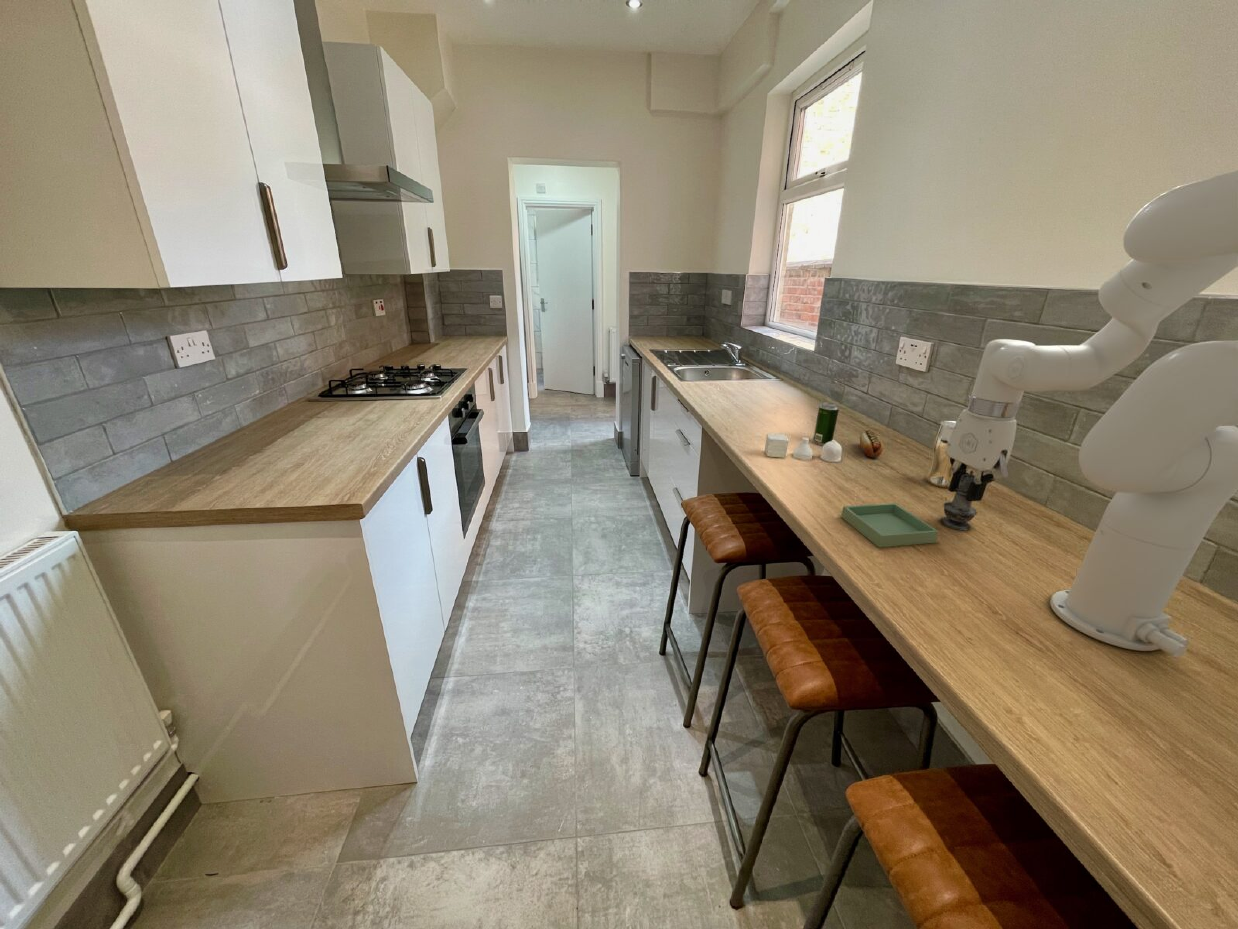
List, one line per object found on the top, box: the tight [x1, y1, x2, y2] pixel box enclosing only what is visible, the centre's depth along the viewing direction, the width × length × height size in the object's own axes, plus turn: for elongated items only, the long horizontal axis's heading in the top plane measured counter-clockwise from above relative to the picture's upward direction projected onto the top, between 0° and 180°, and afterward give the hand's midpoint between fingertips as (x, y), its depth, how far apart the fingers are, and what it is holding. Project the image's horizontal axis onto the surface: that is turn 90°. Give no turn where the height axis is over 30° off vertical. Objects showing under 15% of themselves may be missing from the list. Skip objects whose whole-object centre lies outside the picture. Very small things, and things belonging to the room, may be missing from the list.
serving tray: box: [840, 502, 940, 548], centre depth 98 cm, size 12×12×2 cm
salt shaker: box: [940, 470, 978, 531], centre depth 99 cm, size 6×6×12 cm
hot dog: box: [859, 430, 884, 458], centre depth 139 cm, size 5×13×5 cm, turn 163°
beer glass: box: [925, 420, 957, 489], centre depth 118 cm, size 7×7×15 cm
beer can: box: [812, 401, 840, 447], centre depth 144 cm, size 5×5×12 cm
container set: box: [764, 433, 843, 463], centre depth 134 cm, size 20×5×6 cm, turn 82°
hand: (964, 494), depth 98 cm, fingers closed on salt shaker, 3 cm apart
